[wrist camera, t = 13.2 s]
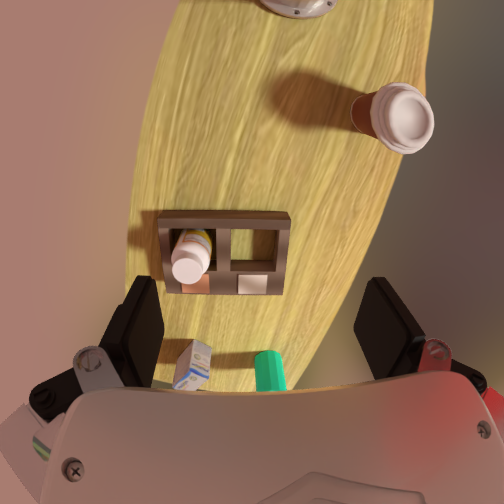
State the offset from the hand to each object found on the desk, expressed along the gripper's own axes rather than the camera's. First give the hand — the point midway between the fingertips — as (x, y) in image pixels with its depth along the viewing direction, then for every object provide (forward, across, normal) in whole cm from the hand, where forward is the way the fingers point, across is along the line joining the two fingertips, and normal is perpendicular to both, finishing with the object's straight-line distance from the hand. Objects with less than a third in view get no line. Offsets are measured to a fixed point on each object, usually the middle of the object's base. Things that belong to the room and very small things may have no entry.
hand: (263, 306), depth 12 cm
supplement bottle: (+31, +7, +11) cm, 33 cm away
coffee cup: (+31, -18, -10) cm, 37 cm away
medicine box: (+31, +10, +38) cm, 50 cm away
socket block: (+30, +3, +13) cm, 33 cm away
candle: (+31, -6, +40) cm, 51 cm away
